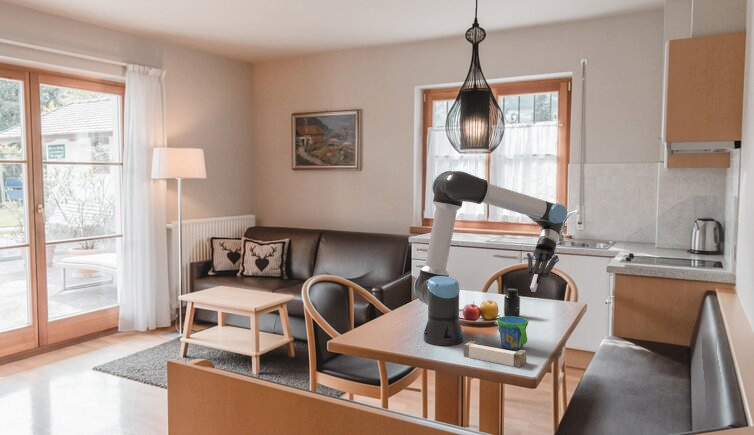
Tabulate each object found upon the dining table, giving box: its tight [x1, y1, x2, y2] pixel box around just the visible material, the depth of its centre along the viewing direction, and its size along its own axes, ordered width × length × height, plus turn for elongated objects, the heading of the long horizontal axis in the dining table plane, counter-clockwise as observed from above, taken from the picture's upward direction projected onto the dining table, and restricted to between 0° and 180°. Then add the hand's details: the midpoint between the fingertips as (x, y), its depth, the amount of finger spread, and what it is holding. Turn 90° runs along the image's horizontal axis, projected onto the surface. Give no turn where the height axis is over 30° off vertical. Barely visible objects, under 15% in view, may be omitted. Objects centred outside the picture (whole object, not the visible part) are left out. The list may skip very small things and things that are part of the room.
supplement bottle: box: [503, 288, 521, 317], centre depth 243 cm, size 7×7×12 cm
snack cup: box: [496, 316, 529, 351], centre depth 199 cm, size 16×10×10 cm
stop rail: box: [463, 340, 527, 369], centre depth 186 cm, size 20×6×4 cm, turn 54°
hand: (532, 289), depth 214 cm, fingers closed
